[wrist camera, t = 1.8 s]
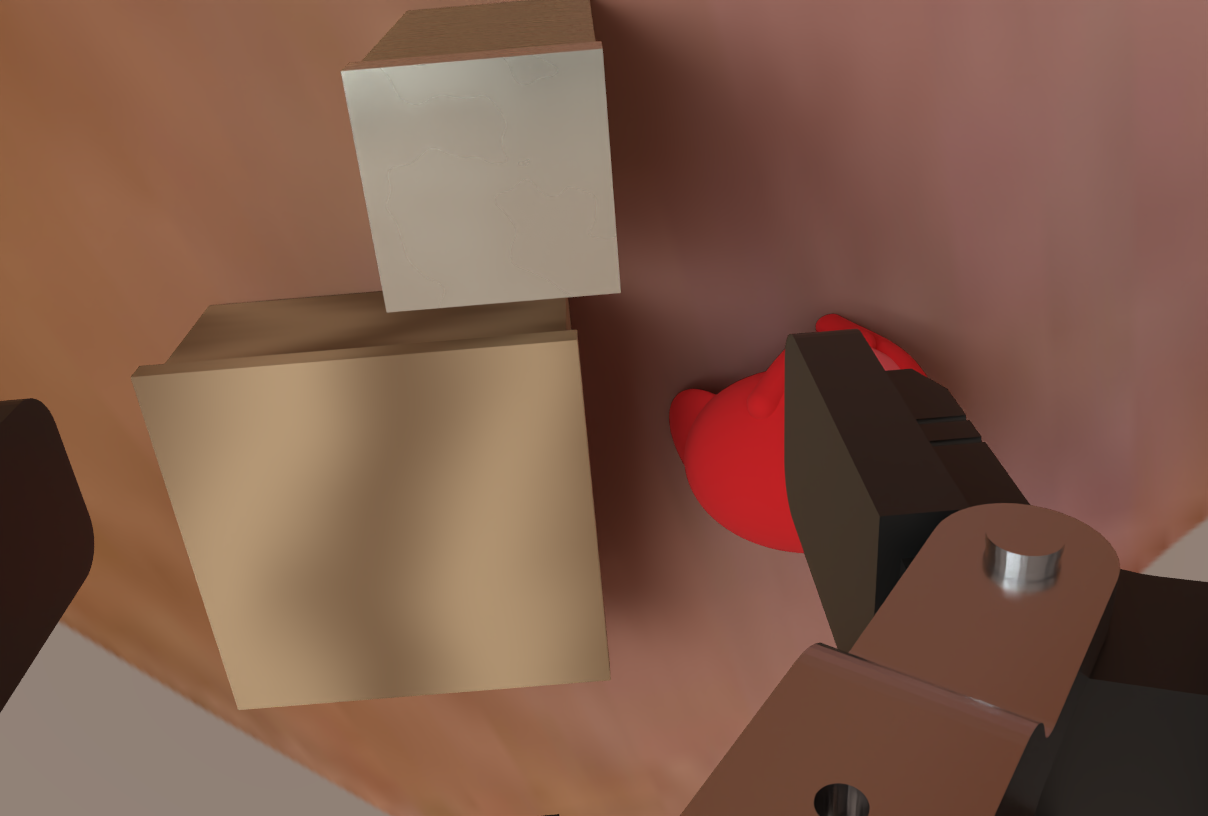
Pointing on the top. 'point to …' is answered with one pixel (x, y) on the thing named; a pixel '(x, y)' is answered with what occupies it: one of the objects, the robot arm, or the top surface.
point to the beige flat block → (384, 496)
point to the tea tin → (487, 155)
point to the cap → (752, 445)
